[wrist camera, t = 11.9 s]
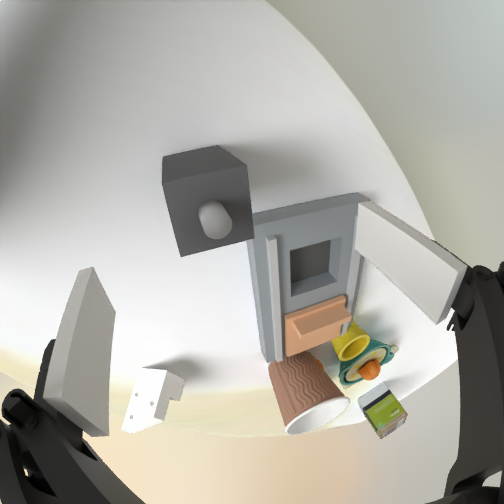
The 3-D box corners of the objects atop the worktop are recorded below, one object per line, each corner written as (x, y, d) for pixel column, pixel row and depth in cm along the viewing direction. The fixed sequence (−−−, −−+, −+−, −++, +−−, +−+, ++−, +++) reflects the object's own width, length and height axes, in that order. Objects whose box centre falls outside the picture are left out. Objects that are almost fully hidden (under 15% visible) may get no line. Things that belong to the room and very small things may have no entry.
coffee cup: (284, 382, 46) (311, 434, 36) (245, 372, 40) (271, 435, 30) (325, 347, 44) (360, 399, 34) (290, 331, 38) (329, 395, 28)
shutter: (284, 315, 32) (295, 334, 29) (342, 294, 34) (356, 310, 31) (285, 352, 37) (294, 370, 34) (336, 333, 38) (347, 349, 35)
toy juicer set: (267, 379, 44) (283, 415, 38) (342, 309, 40) (370, 343, 34) (342, 390, 60) (356, 413, 53) (395, 342, 56) (414, 363, 49)
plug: (162, 157, 22) (161, 193, 13) (217, 145, 23) (257, 172, 14) (173, 208, 24) (183, 274, 15) (225, 195, 25) (264, 253, 16)
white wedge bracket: (119, 380, 34) (121, 430, 27) (165, 353, 33) (172, 408, 26) (136, 389, 36) (141, 437, 29) (182, 364, 35) (192, 416, 28)
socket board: (243, 216, 27) (253, 230, 24) (357, 192, 30) (374, 202, 27) (261, 350, 39) (268, 367, 36) (341, 321, 42) (352, 334, 39)
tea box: (384, 393, 76) (405, 423, 64) (360, 409, 76) (380, 440, 64) (383, 380, 67) (408, 415, 55) (356, 399, 67) (379, 435, 55)
